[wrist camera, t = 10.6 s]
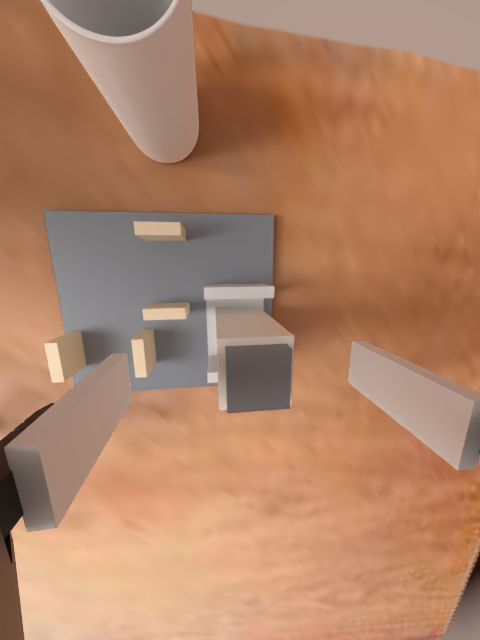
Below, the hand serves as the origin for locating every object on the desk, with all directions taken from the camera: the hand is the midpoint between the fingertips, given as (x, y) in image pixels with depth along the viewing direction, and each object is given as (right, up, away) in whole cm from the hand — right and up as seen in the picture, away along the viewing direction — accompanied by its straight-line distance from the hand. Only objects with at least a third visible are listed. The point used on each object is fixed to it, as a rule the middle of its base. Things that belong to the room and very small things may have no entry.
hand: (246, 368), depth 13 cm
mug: (-7, +22, +7) cm, 24 cm away
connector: (-1, +2, +11) cm, 11 cm away
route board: (-7, +4, +11) cm, 14 cm away
